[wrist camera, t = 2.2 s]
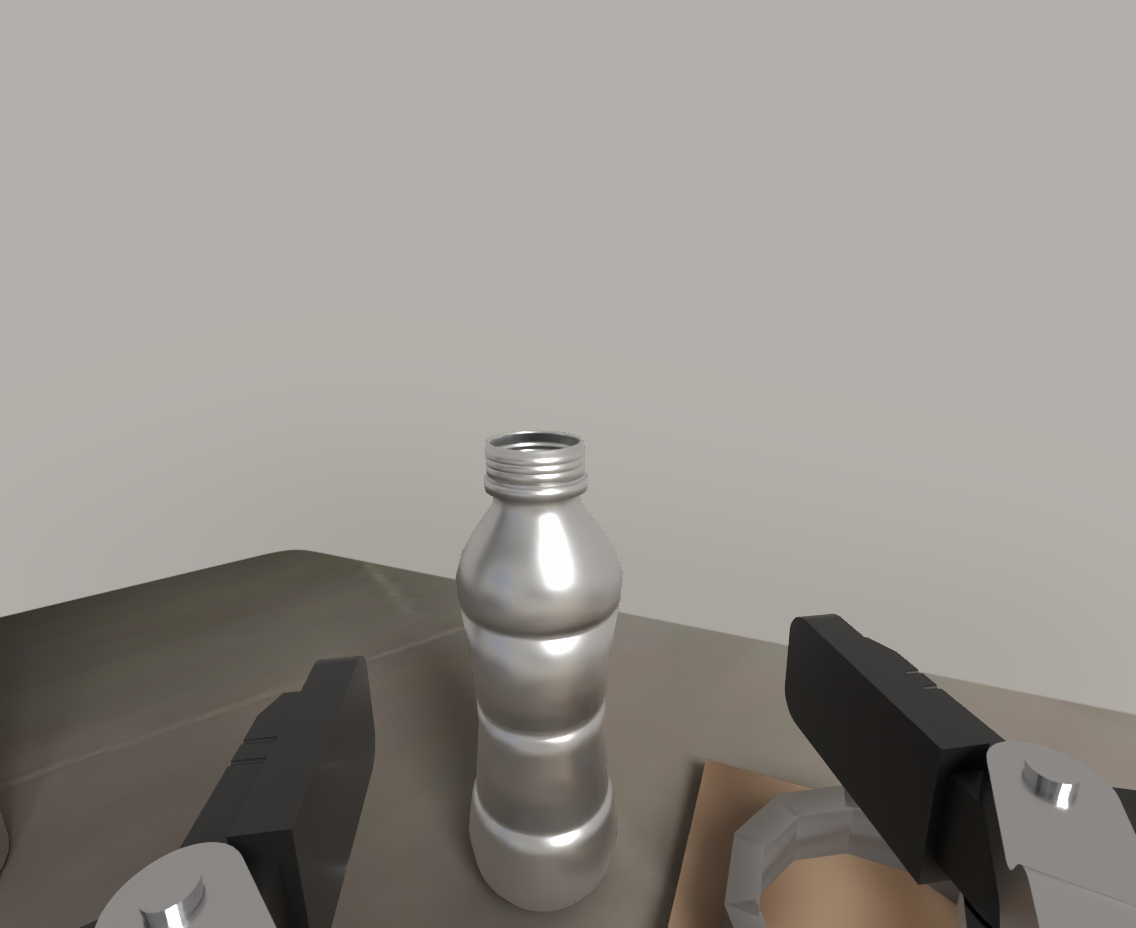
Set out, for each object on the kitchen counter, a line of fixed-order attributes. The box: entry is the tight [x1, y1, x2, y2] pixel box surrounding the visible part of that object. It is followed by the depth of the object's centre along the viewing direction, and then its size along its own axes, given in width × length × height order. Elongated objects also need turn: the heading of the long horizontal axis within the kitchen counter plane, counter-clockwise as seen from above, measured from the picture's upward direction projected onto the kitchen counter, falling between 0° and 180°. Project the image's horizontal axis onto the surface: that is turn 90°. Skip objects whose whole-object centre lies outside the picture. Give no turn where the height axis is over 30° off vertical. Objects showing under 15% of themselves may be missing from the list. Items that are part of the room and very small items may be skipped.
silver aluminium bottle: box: [456, 431, 622, 912], centre depth 23 cm, size 6×7×20 cm
